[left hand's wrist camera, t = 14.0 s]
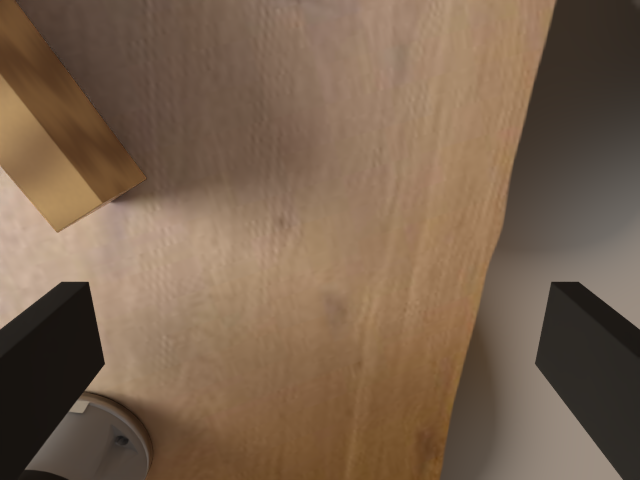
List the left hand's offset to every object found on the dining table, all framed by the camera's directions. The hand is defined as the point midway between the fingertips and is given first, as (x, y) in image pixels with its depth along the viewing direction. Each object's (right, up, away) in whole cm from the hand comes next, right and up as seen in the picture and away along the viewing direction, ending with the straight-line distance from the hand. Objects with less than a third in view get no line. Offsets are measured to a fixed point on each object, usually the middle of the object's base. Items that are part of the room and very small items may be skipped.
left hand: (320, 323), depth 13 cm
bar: (-23, +16, +24) cm, 37 cm away
